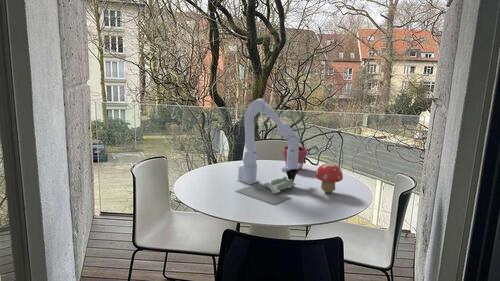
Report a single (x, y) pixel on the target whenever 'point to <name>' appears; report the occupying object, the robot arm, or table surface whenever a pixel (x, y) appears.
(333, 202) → the table surface
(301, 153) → the plant pot
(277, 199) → the rubber mat
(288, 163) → the robot arm
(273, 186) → the metal bracket
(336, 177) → the decorative mushroom
